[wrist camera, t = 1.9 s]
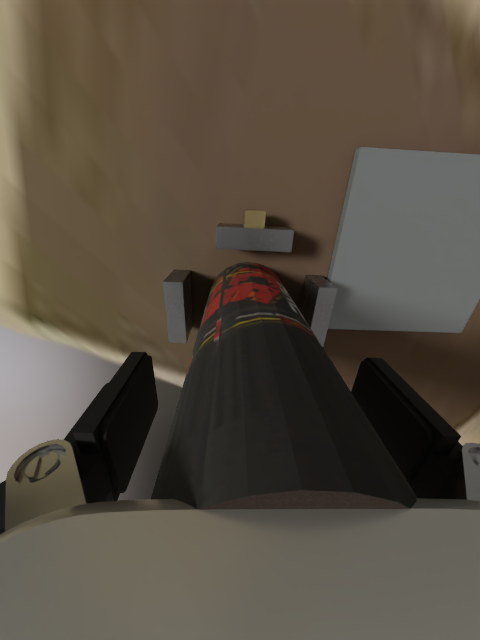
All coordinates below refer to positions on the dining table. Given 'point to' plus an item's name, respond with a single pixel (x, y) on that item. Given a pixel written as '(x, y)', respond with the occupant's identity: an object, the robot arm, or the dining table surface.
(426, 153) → the coaster
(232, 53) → the dining table surface
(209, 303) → the deodorant
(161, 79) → the dining table surface
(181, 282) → the collar
